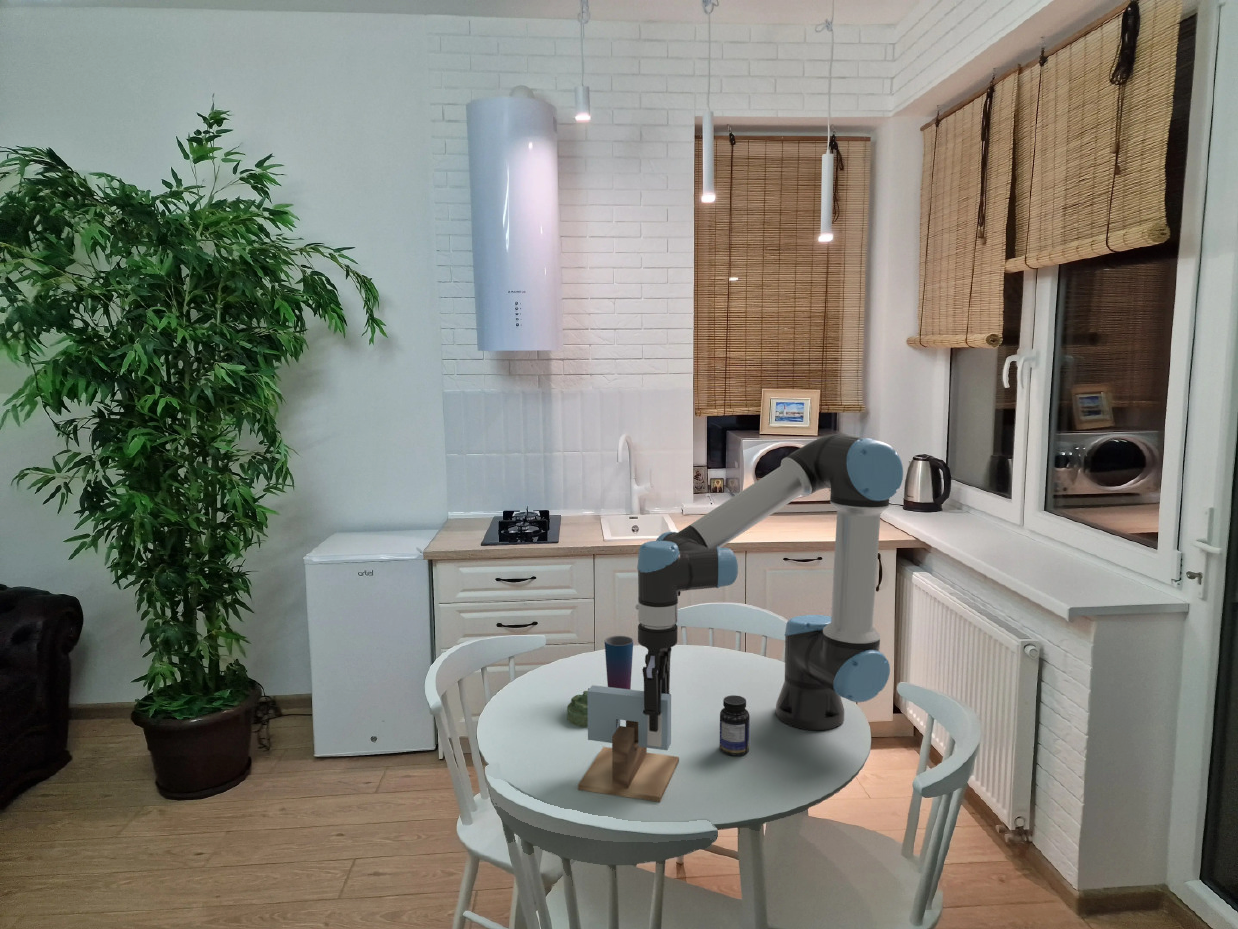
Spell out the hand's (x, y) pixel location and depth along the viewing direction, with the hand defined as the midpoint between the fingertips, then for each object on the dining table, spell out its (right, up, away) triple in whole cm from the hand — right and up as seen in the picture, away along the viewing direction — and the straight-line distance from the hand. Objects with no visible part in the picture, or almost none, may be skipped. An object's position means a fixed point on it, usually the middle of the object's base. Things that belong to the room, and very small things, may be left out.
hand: (656, 740), depth 161 cm
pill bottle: (+17, -6, +13) cm, 22 cm away
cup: (-7, -3, +37) cm, 38 cm away
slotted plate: (-5, -1, +2) cm, 6 cm away
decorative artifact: (-14, -5, +29) cm, 32 cm away
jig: (-5, -8, +3) cm, 10 cm away
